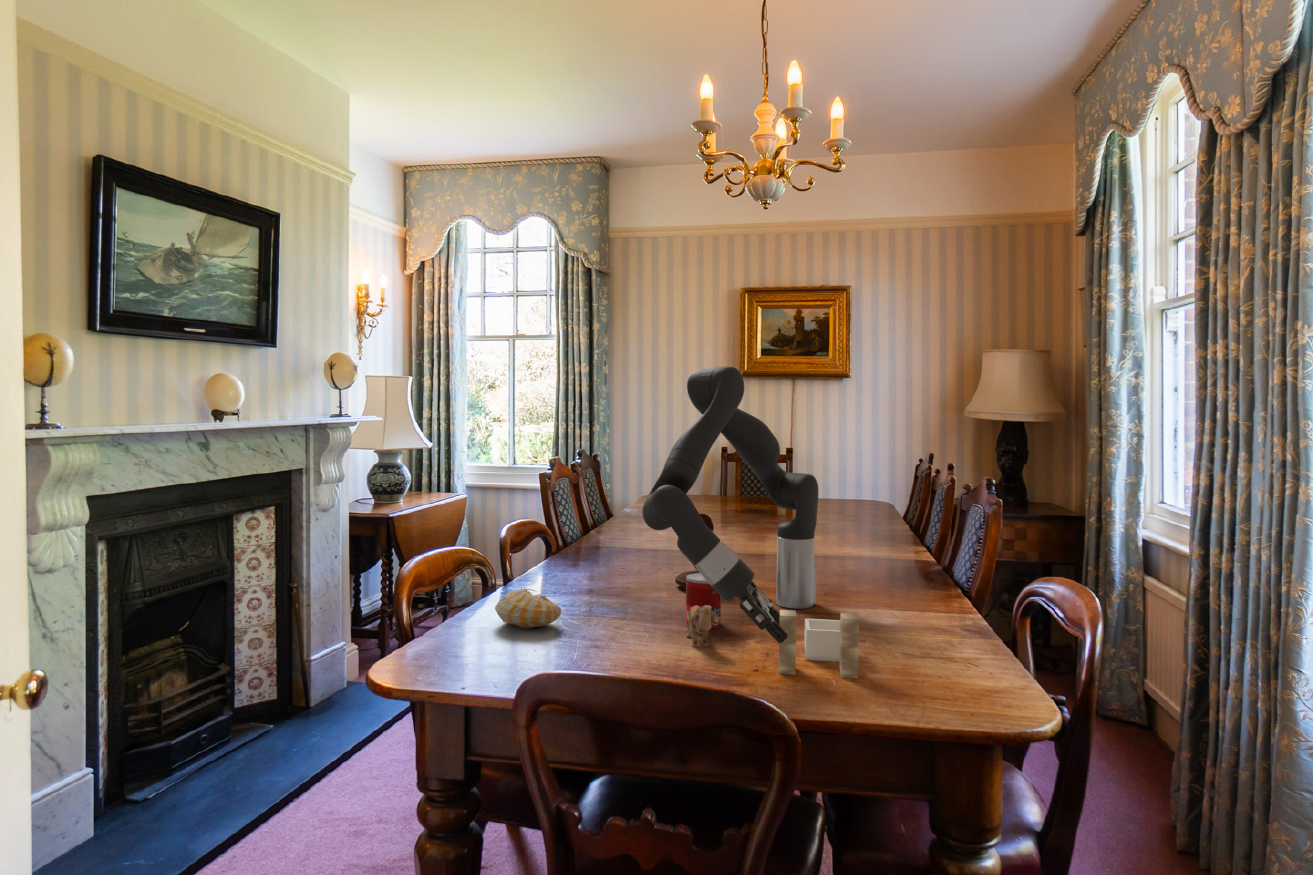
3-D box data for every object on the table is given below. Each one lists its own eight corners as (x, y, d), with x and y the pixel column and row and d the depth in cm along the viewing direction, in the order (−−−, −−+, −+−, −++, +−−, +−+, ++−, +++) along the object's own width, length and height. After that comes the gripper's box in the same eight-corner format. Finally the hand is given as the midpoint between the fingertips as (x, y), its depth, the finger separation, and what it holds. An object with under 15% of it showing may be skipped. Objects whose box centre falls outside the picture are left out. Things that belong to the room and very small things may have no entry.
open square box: (806, 659, 146) (806, 629, 145) (804, 646, 154) (804, 618, 153) (847, 662, 145) (847, 631, 144) (843, 649, 152) (843, 620, 152)
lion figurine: (721, 650, 151) (722, 607, 150) (696, 652, 150) (697, 608, 149) (699, 629, 165) (699, 589, 165) (676, 631, 164) (676, 591, 163)
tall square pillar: (779, 673, 138) (779, 615, 138) (778, 666, 142) (779, 609, 142) (795, 674, 138) (796, 616, 137) (794, 667, 142) (795, 610, 141)
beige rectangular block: (841, 677, 136) (842, 618, 136) (839, 670, 140) (840, 612, 140) (858, 678, 136) (859, 619, 135) (855, 671, 140) (856, 613, 139)
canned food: (718, 630, 165) (719, 581, 164) (683, 627, 166) (683, 579, 166) (722, 620, 172) (723, 573, 172) (688, 618, 174) (689, 572, 173)
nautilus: (503, 612, 180) (565, 615, 180) (487, 633, 158) (557, 636, 159) (505, 579, 180) (567, 582, 181) (489, 596, 158) (559, 599, 159)
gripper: (736, 564, 133) (800, 631, 132) (740, 549, 147) (797, 609, 146) (706, 592, 134) (769, 658, 133) (713, 575, 148) (770, 634, 147)
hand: (784, 633), depth 140 cm, fingers open, 8 cm apart
